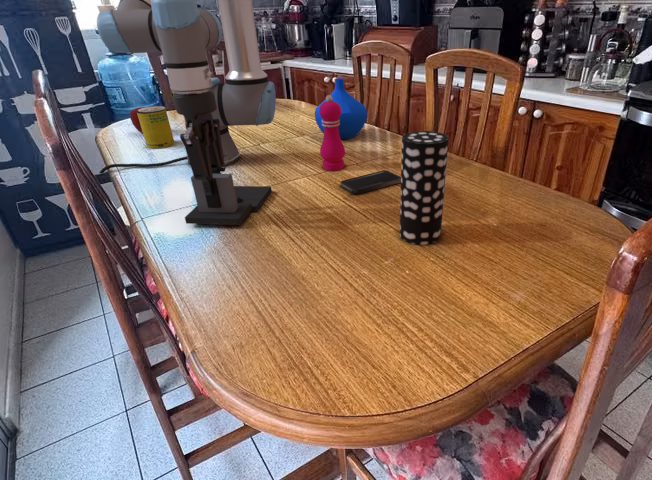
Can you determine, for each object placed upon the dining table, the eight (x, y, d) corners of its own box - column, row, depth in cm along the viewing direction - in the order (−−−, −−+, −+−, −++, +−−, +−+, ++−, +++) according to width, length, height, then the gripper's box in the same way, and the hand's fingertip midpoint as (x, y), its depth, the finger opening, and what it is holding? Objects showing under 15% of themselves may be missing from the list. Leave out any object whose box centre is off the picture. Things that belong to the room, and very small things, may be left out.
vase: (376, 132, 152) (376, 76, 142) (348, 146, 139) (346, 85, 129) (336, 126, 161) (333, 73, 151) (305, 138, 147) (300, 81, 138)
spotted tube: (396, 226, 88) (398, 132, 78) (435, 224, 89) (442, 130, 79) (403, 246, 81) (406, 144, 71) (445, 243, 82) (454, 142, 71)
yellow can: (179, 141, 148) (171, 106, 142) (165, 149, 140) (155, 112, 134) (156, 140, 149) (147, 106, 143) (141, 148, 142) (130, 112, 136)
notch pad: (199, 211, 97) (197, 205, 96) (218, 191, 107) (217, 185, 107) (257, 212, 96) (256, 206, 95) (271, 191, 106) (271, 186, 105)
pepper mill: (342, 171, 118) (338, 98, 107) (317, 170, 119) (311, 97, 109) (348, 163, 124) (345, 92, 113) (325, 162, 125) (319, 92, 115)
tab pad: (186, 223, 89) (174, 182, 85) (208, 201, 99) (199, 163, 95) (240, 225, 88) (231, 182, 84) (257, 202, 98) (250, 163, 93)
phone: (338, 181, 108) (385, 169, 115) (338, 185, 108) (385, 173, 115) (354, 191, 102) (403, 178, 109) (354, 195, 103) (403, 182, 110)
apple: (135, 132, 160) (127, 105, 155) (162, 129, 163) (155, 102, 158) (135, 138, 152) (126, 110, 147) (163, 134, 156) (156, 107, 151)
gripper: (193, 98, 72) (220, 220, 84) (227, 83, 85) (246, 190, 97) (152, 98, 73) (185, 219, 85) (191, 84, 86) (215, 190, 98)
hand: (217, 203), depth 91 cm, fingers closed on tab pad, 2 cm apart
